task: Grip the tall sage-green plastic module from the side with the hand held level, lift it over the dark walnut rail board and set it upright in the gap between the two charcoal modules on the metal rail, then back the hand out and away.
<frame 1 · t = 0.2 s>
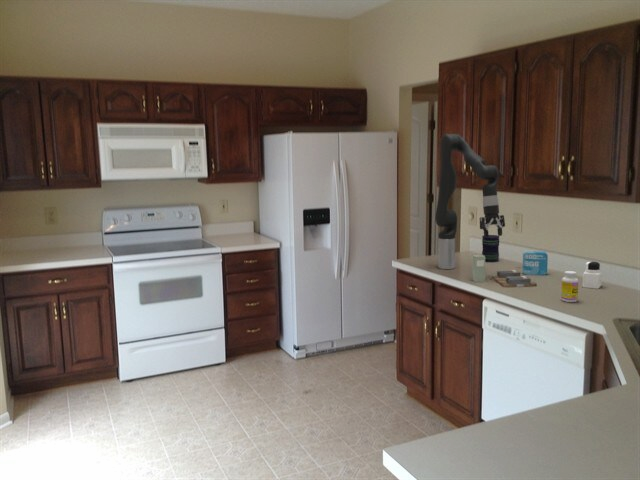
hand: (493, 236, 288), 22 cm above the worktop, tool pointing down, fingers open, 8 cm apart
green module: (478, 280, 291), on the worktop
medicine bottle: (591, 287, 272), on the worktop
rail board: (513, 281, 286), on the worktop
blue product box: (534, 274, 302), on the worktop
supplement bottle: (569, 301, 249), on the worktop
storage jar: (490, 261, 339), on the worktop
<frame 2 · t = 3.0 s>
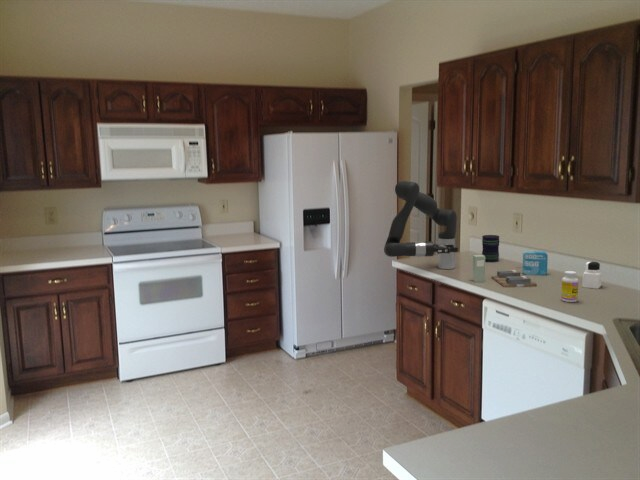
hand: (455, 248, 288), 17 cm above the worktop, tool horizontal, fingers open, 8 cm apart
nothing on the worktop moved.
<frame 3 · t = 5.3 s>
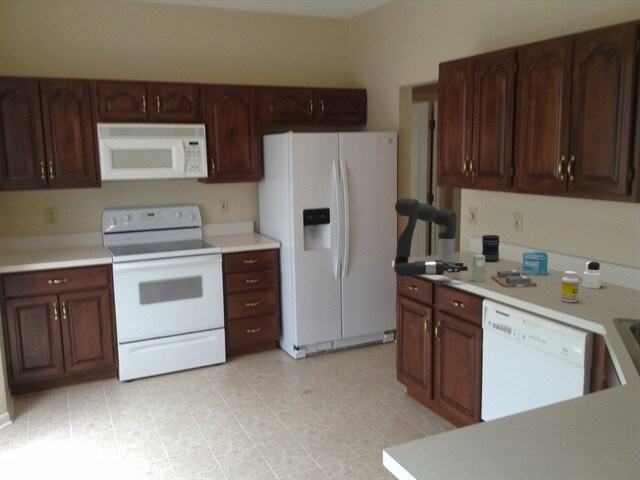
hand: (465, 266, 289), 8 cm above the worktop, tool horizontal, fingers open, 8 cm apart
nothing on the worktop moved.
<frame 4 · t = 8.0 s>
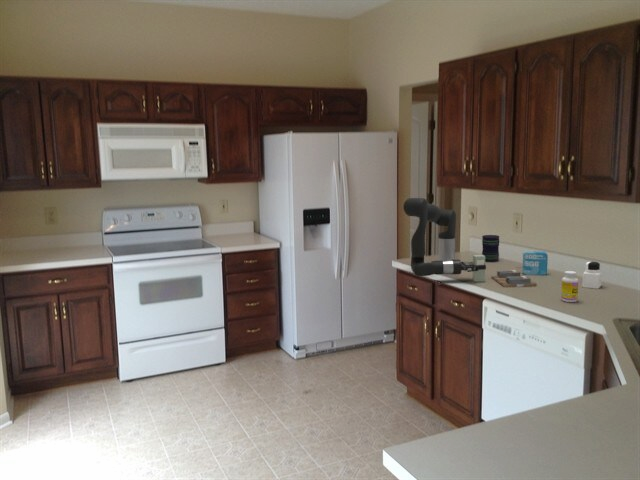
hand: (484, 266, 289), 8 cm above the worktop, tool horizontal, fingers closed on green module, 4 cm apart
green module: (478, 280, 290), on the worktop, touching gripper
everything else where it was.
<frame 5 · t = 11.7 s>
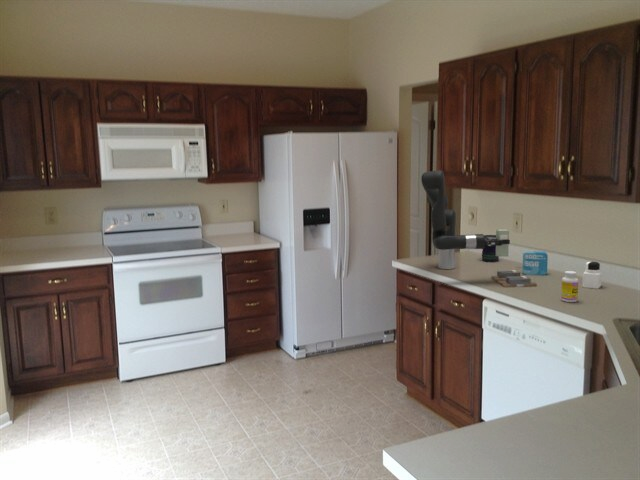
hand: (507, 240, 283), 21 cm above the worktop, tool horizontal, fingers closed on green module, 4 cm apart
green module: (501, 255, 285), point 13 cm above the worktop, touching gripper
everything else where it was.
when the fingers open (10 cm above the worktop, at t = 15.3 s): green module stays where it is, resting on rail board.
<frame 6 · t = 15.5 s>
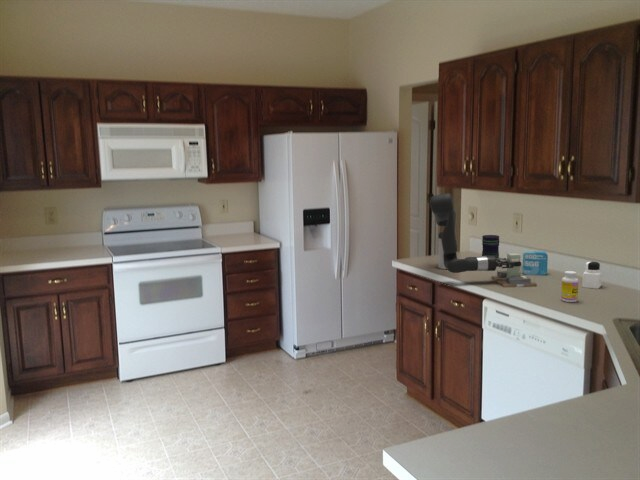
hand: (518, 262, 284), 10 cm above the worktop, tool horizontal, fingers open, 6 cm apart
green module: (513, 279, 286), point 1 cm above the worktop, touching rail board
everything else where it was.
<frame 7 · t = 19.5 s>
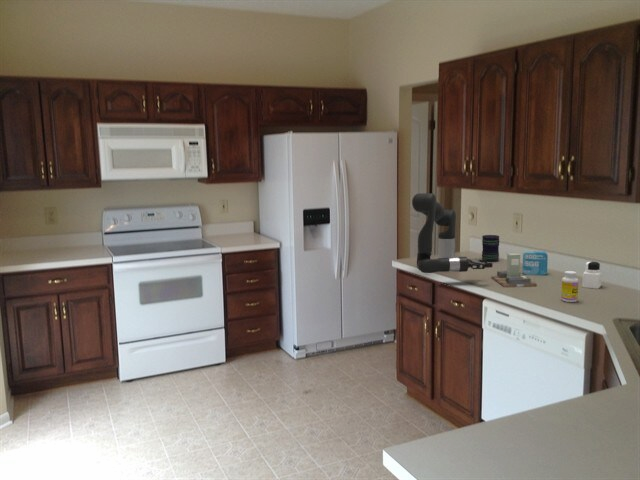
hand: (489, 263, 284), 10 cm above the worktop, tool horizontal, fingers open, 8 cm apart
nothing on the worktop moved.
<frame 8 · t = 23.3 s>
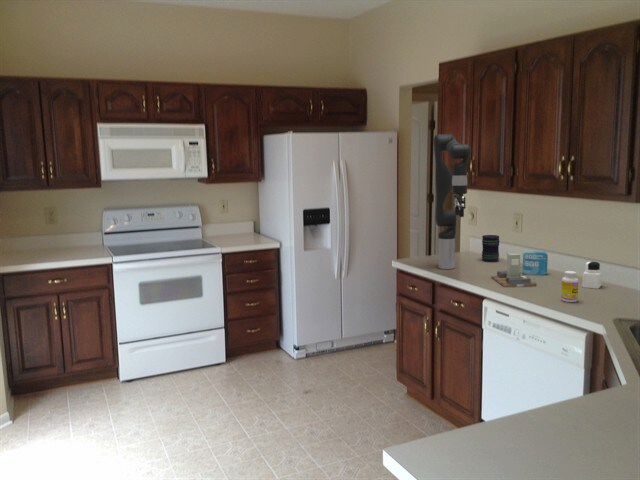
hand: (459, 216, 290), 33 cm above the worktop, tool pointing down, fingers open, 8 cm apart
nothing on the worktop moved.
at the end: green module 0.2 cm off-centre on the rail board, point 1.2 cm above the rail board's base; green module tilted 0°; the gripper is holding nothing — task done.
